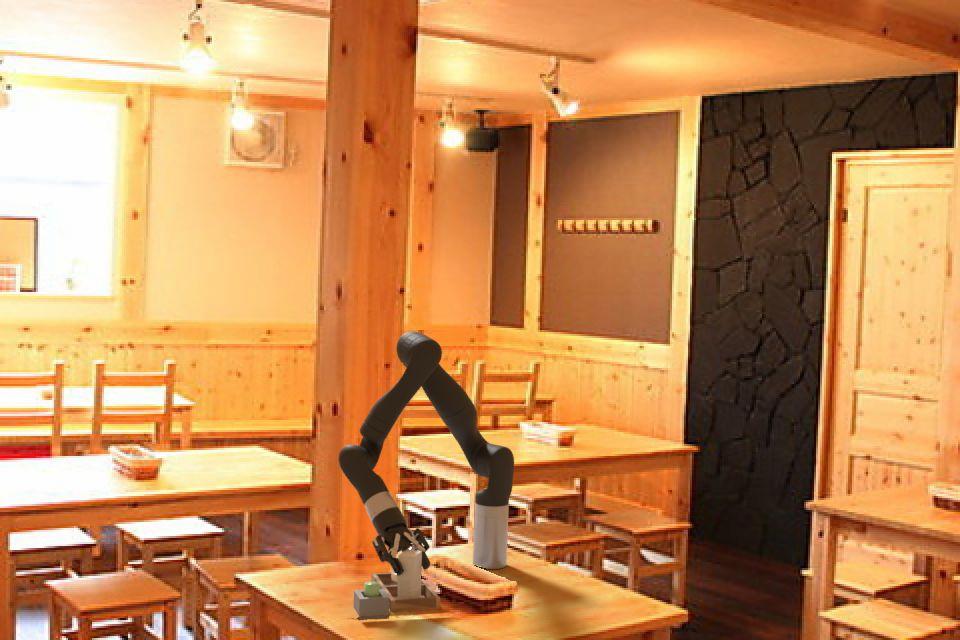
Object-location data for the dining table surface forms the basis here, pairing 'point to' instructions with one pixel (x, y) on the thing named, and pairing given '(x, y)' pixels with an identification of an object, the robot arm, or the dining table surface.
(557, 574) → the dining table surface
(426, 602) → the tray
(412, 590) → the skincare box
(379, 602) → the grey square open box
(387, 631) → the dining table surface
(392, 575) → the beige rounded cylinder
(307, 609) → the dining table surface
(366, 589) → the button
